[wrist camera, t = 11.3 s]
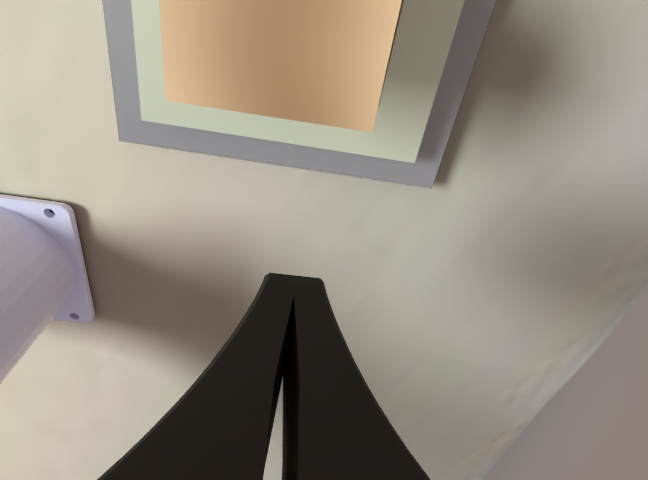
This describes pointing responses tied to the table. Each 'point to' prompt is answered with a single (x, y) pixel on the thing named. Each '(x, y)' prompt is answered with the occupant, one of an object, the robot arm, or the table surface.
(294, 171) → the table surface
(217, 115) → the plate
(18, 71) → the table surface
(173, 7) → the tan block
